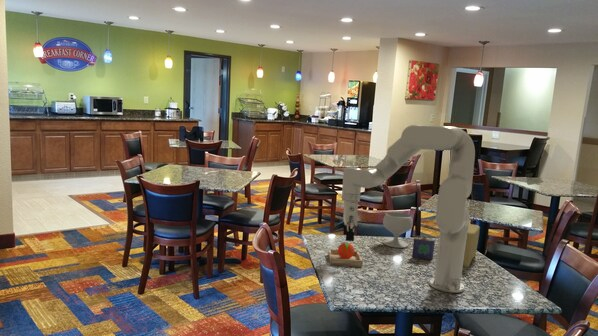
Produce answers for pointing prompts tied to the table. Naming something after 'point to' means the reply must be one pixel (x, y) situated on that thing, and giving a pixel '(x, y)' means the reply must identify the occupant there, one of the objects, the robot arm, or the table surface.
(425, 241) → the flask
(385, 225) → the chalice
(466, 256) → the cheese
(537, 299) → the table surface
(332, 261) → the tray
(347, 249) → the clementine
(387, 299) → the table surface
